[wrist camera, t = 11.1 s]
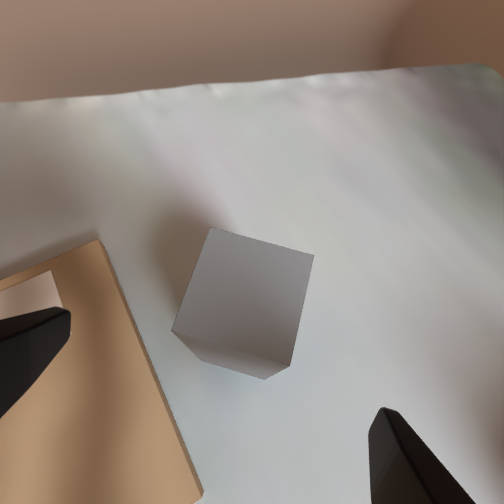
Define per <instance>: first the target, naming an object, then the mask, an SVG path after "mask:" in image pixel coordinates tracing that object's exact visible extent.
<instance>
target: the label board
mask: <svg viewBox="0 0 504 504" xmlns="http://www.w3.org/2000/svg"><path fill="white" fill-rule="evenodd" d="M55 306H57V307H61V308H64V309H68V310H69V311H70V312H71V333H70V337H69V340H68V341H67V343H66V344H65V345H64V347H63V348H62V349H61V350H60V352H59V353H58V354H57V355H56V357H55V358H54V359H53V360H52V362H51V363H50V364H49V365H48V367H47V368H46V369H45V370H44V371H43V373H42V374H41V375H40V376H39V378H38V379H37V380H36V381H35V383H34V384H33V385H32V386H31V387H30V388H29V389H28V390H27V392H26V393H25V394H24V395H23V396H22V397H21V398H20V399H19V400H18V401H17V402H16V403H15V404H14V405H13V406H12V407H11V408H10V409H9V410H8V411H7V412H6V413H5V414H4V415H3V416H2V418H1V419H0V504H193V503H195V502H196V501H198V500H199V499H201V498H202V495H203V492H204V490H203V488H202V485H201V483H200V480H199V478H198V476H197V473H196V471H195V468H194V466H193V463H192V461H191V458H190V456H189V454H188V451H187V449H186V446H185V444H184V441H183V439H182V436H181V434H180V431H179V429H178V427H177V424H176V422H175V419H174V417H173V414H172V412H171V409H170V407H169V404H168V402H167V400H166V397H165V395H164V392H163V390H162V387H161V385H160V382H159V380H158V378H157V375H156V373H155V370H154V368H153V365H152V363H151V360H150V358H149V355H148V353H147V351H146V348H145V346H144V343H143V341H142V338H141V336H140V333H139V331H138V328H137V326H136V324H135V321H134V319H133V316H132V314H131V311H130V309H129V306H128V304H127V301H126V299H125V297H124V294H123V292H122V289H121V287H120V284H119V282H118V279H117V277H116V275H115V272H114V270H113V267H112V265H111V262H110V260H109V257H108V255H107V252H106V250H105V248H104V246H103V245H102V244H101V243H100V242H99V240H98V239H97V240H95V241H92V242H90V243H87V244H85V245H83V246H80V247H78V248H76V249H73V250H71V251H69V252H66V253H64V254H61V255H59V256H57V257H54V258H52V259H50V260H47V261H45V262H42V263H40V264H38V265H35V266H33V267H31V268H28V269H26V270H23V271H21V272H19V273H16V274H14V275H12V276H9V277H7V278H4V279H2V280H0V320H1V319H5V318H9V317H13V316H17V315H21V314H26V313H30V312H34V311H38V310H42V309H46V308H50V307H55Z"/></svg>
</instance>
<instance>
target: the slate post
mask: <svg viewBox="0 0 504 504" xmlns="http://www.w3.org/2000/svg"><path fill="white" fill-rule="evenodd" d="M313 258H314V255H311V254H307V253H304V252H300V251H296V250H293V249H289V248H285V247H282V246H278V245H274V244H271V243H267V242H263V241H260V240H256V239H252V238H249V237H245V236H241V235H238V234H234V233H230V232H227V231H223V230H219V229H216V228H212V227H210V230H209V232H208V235H207V238H206V240H205V243H204V245H203V248H202V251H201V253H200V256H199V259H198V261H197V264H196V266H195V269H194V272H193V274H192V277H191V280H190V282H189V285H188V287H187V290H186V293H185V295H184V298H183V301H182V303H181V306H180V309H179V311H178V314H177V316H176V319H175V322H174V324H173V327H172V330H171V331H172V332H173V333H174V334H175V335H176V336H177V337H178V338H179V339H180V340H181V341H182V342H183V343H184V344H185V345H186V346H187V347H188V348H189V349H190V350H191V351H192V352H193V353H194V354H195V355H196V356H197V357H198V358H199V359H200V360H201V361H204V362H208V363H211V364H214V365H218V366H221V367H224V368H228V369H231V370H234V371H237V372H241V373H244V374H247V375H251V376H254V377H257V378H261V379H264V380H265V379H267V378H268V377H270V376H272V375H274V374H276V373H278V372H280V371H281V370H283V369H285V368H287V367H289V366H290V363H291V359H292V354H293V350H294V345H295V340H296V336H297V331H298V327H299V322H300V318H301V313H302V309H303V304H304V299H305V295H306V290H307V286H308V281H309V277H310V272H311V267H312V263H313Z"/></svg>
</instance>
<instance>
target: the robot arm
mask: <svg viewBox="0 0 504 504" xmlns="http://www.w3.org/2000/svg"><path fill="white" fill-rule="evenodd" d="M70 333H71V312H70V311H69V310H68V309H64V308H61V307H57V306H55V307H50V308H46V309H42V310H38V311H34V312H30V313H26V314H21V315H17V316H13V317H9V318H5V319H1V320H0V419H1V418H2V416H3V415H4V414H5V413H6V412H7V411H8V410H9V409H10V408H11V407H12V406H13V405H14V404H15V403H16V402H17V401H18V400H19V399H20V398H21V397H22V396H23V395H24V394H25V393H26V392H27V390H28V389H29V388H30V387H31V386H32V385H33V384H34V383H35V381H36V380H37V379H38V378H39V376H40V375H41V374H42V373H43V371H44V370H45V369H46V368H47V367H48V365H49V364H50V363H51V362H52V360H53V359H54V358H55V357H56V355H57V354H58V353H59V352H60V350H61V349H62V348H63V347H64V345H65V344H66V343H67V341H68V340H69V337H70ZM368 443H369V467H370V490H371V502H372V504H476V503H475V502H474V501H473V500H472V499H471V497H470V496H469V495H468V494H467V493H466V491H465V490H464V489H463V488H462V487H461V486H460V484H459V483H458V482H457V481H456V480H455V478H454V477H453V476H452V475H451V474H450V473H449V471H448V470H447V469H446V468H445V467H444V465H443V464H442V463H441V462H440V461H439V460H438V458H437V457H436V456H435V455H434V454H433V452H432V451H431V450H430V449H429V448H428V447H427V445H426V444H425V443H424V442H423V441H422V439H421V438H420V437H419V436H418V435H417V434H416V432H415V431H414V430H413V429H412V428H411V426H410V425H409V424H408V423H407V422H406V421H405V419H404V418H403V417H402V416H401V415H400V414H399V412H397V411H395V410H392V409H389V408H385V407H382V408H380V409H379V411H378V413H377V415H376V417H375V419H374V421H373V423H372V425H371V427H370V429H369V434H368Z"/></svg>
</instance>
